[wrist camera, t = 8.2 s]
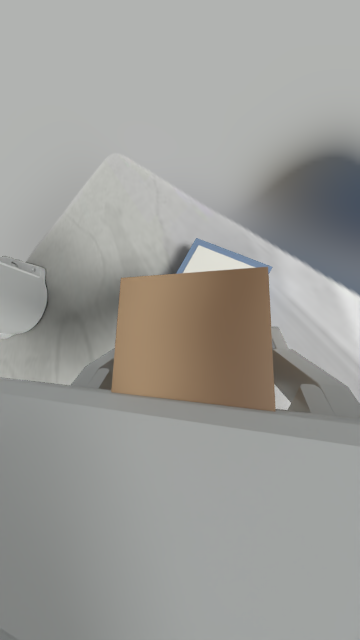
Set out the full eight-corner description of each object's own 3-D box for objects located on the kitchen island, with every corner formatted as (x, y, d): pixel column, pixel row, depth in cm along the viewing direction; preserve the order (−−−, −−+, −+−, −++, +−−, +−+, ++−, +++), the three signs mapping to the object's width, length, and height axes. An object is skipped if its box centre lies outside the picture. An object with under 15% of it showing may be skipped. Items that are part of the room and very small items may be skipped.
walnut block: (180, 371, 15) (108, 421, 5) (181, 318, 16) (121, 277, 6) (236, 375, 14) (277, 451, 4) (235, 318, 14) (267, 266, 5)
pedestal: (166, 309, 29) (158, 304, 25) (199, 252, 29) (196, 237, 25) (227, 343, 25) (229, 343, 21) (264, 278, 25) (272, 266, 21)
